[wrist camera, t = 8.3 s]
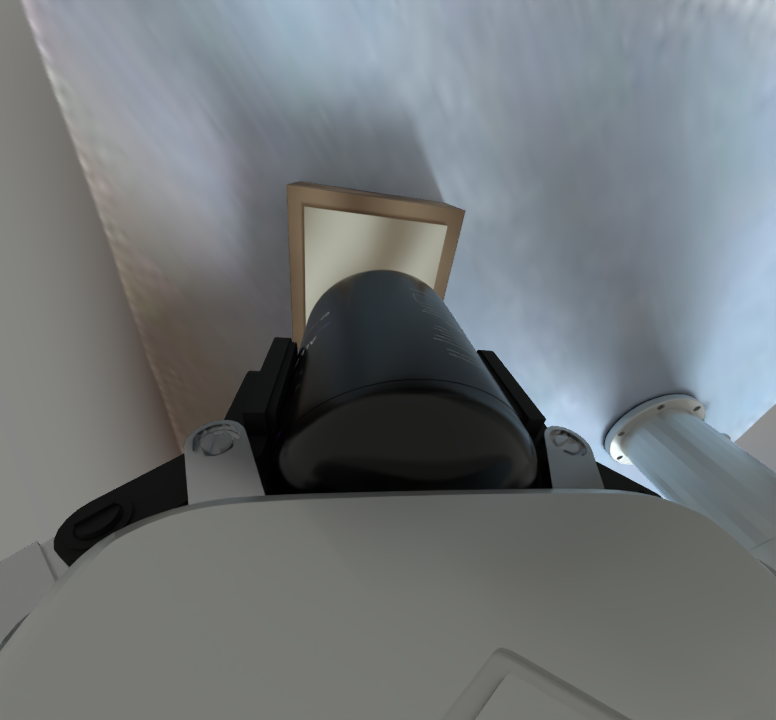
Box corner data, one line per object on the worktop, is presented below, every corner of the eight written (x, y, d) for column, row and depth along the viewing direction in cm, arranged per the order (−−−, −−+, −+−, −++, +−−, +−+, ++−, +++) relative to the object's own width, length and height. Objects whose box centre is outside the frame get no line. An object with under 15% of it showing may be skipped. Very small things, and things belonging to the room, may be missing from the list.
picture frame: (444, 202, 23) (466, 211, 19) (418, 328, 29) (430, 357, 25) (299, 181, 21) (286, 185, 17) (302, 320, 27) (292, 349, 23)
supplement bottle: (281, 288, 13) (18, 756, 3) (438, 247, 12) (816, 586, 2) (333, 404, 16) (308, 777, 6) (454, 375, 16) (624, 712, 6)
